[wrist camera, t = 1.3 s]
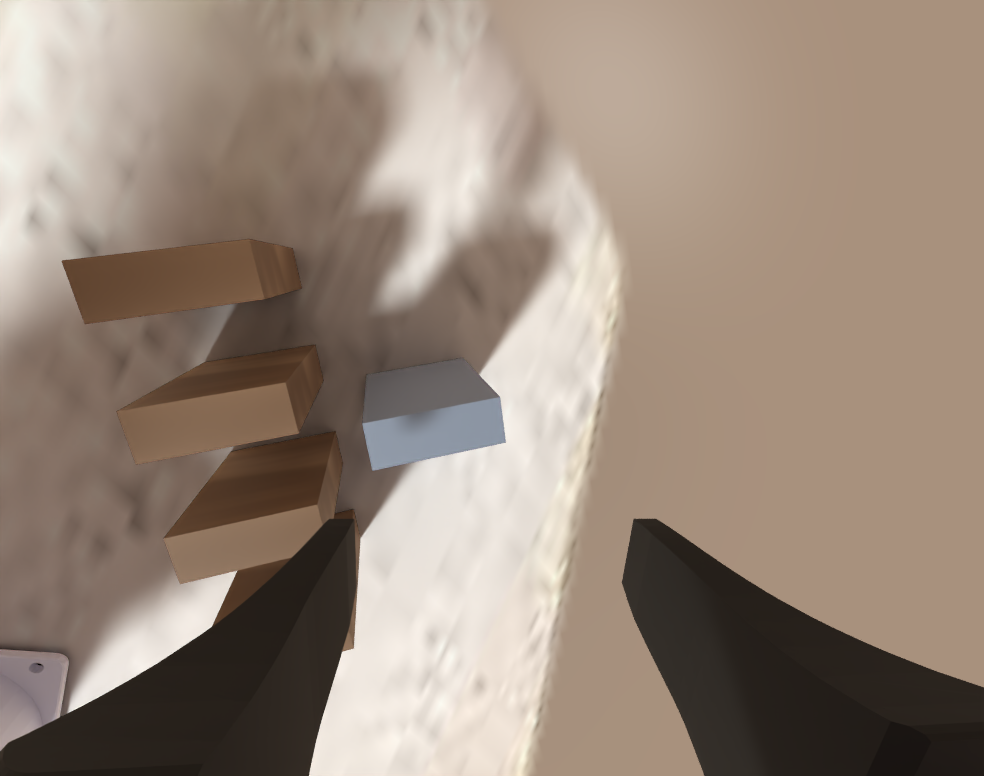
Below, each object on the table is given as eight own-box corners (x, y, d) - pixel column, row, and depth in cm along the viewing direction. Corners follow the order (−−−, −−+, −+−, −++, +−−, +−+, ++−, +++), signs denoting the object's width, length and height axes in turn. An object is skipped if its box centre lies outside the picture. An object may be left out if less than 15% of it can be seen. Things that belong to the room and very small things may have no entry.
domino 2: (323, 380, 21) (298, 433, 14) (215, 399, 20) (136, 464, 13) (315, 344, 20) (285, 382, 14) (204, 362, 20) (116, 411, 13)
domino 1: (301, 288, 20) (264, 299, 13) (186, 303, 19) (84, 324, 12) (292, 248, 19) (249, 239, 13) (174, 262, 18) (61, 260, 12)
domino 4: (360, 538, 23) (353, 648, 16) (264, 561, 22) (216, 686, 16) (353, 509, 23) (343, 610, 16) (255, 531, 22) (202, 647, 15)
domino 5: (467, 390, 22) (505, 442, 16) (373, 408, 22) (372, 470, 15) (462, 357, 22) (500, 396, 15) (366, 374, 21) (362, 423, 15)
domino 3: (342, 463, 22) (328, 548, 15) (241, 484, 21) (180, 584, 14) (335, 431, 21) (317, 504, 15) (231, 451, 21) (163, 538, 14)
